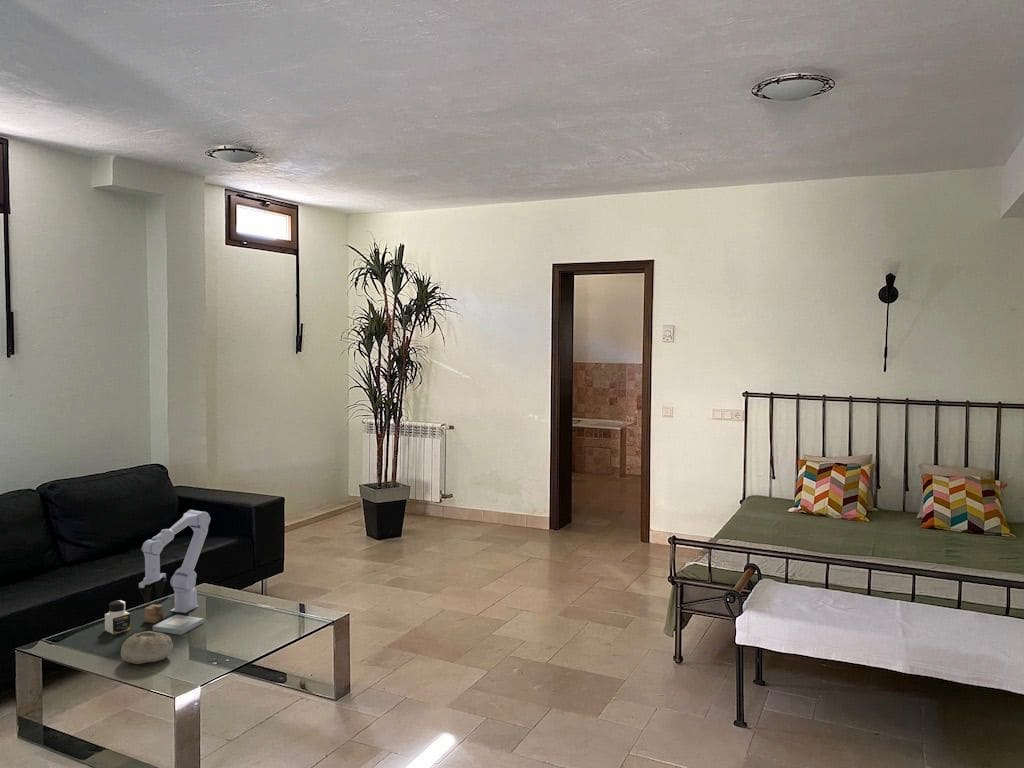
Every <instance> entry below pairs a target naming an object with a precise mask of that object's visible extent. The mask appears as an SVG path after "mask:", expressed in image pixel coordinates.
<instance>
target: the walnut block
mask: <svg viewBox="0 0 1024 768" xmlns="http://www.w3.org/2000/svg"><path fill="white" fill-rule="evenodd" d="M163 609H164V607H163V605H161V604H154V603H152V604H150V605H148V606H146V607H144V622H145V623H151V624H155V623H156V624H157V622H158V623H159V622H161V620H162V621H163V620H164V618H163V617H164V613H163V611H164V610H163Z"/></svg>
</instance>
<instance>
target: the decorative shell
mask: <svg viewBox="0 0 1024 768" xmlns="http://www.w3.org/2000/svg"><path fill="white" fill-rule="evenodd" d="M120 649H121V650H120V656H121V659H122V660H123V661H125V662H126V663H131V664H135V665H136V664H138V665H140V664H147V662H148V663H155V662H160V661H161V660H164V659H166V657H168V656H169V655H170V654H171V653H172V651H173V649H174V643H173V641H172V638H171V637H170V635H167V634H165V632H158V631H153V630H152V631H151V630H148V631H147V630H145V631H140V632H135V633H133V634H132V635H129V637H127V638H126V639H125V641H124V642H122V645H121V648H120Z"/></svg>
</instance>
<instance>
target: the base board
mask: <svg viewBox="0 0 1024 768" xmlns="http://www.w3.org/2000/svg"><path fill="white" fill-rule="evenodd" d="M204 623H205V622H204V618H203V617H197V616H188V615H181V614H175V615H172V616H170V617H168V618H166V619H163V620H162V621H159V622H158V623H156V624H154V625H152V632H154V631H155V632H158V633H164V634H165V633H167V634H174V635H180V636H182V635H184V634H186V633H187V632H189V631H191V630H193V629H195V628H196V627H199V626H202V624H204Z"/></svg>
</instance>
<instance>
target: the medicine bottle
mask: <svg viewBox="0 0 1024 768" xmlns="http://www.w3.org/2000/svg"><path fill="white" fill-rule="evenodd" d="M130 630H131V613H130V612H128V611H126V601H124V600H121V599H120V600H119V599H118V600H114V601H111V602H110V603H108V612H107V613H104V631H105V632H107V633H110V634H112V635H117V634H121V633H122V632H126V631H130Z"/></svg>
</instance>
